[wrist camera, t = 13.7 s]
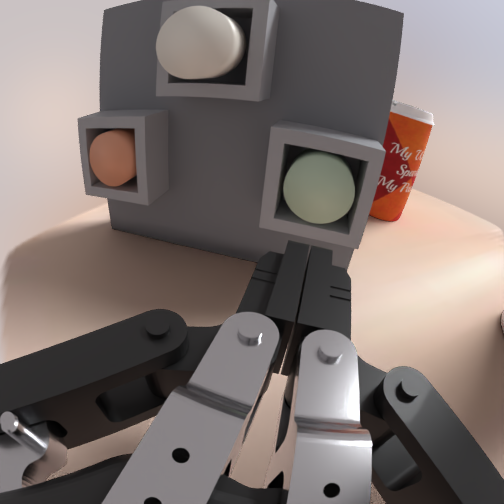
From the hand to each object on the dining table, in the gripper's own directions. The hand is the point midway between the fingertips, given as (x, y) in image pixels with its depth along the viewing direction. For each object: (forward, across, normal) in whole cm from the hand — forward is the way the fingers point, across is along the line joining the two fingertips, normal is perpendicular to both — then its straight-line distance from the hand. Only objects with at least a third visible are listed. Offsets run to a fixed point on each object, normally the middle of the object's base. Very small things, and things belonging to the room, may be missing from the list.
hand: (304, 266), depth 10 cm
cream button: (+6, +7, -6) cm, 11 cm away
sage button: (+8, 0, +2) cm, 9 cm away
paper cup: (+27, -9, +8) cm, 29 cm away
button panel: (+10, +7, +8) cm, 15 cm away
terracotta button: (+8, +14, +2) cm, 16 cm away
